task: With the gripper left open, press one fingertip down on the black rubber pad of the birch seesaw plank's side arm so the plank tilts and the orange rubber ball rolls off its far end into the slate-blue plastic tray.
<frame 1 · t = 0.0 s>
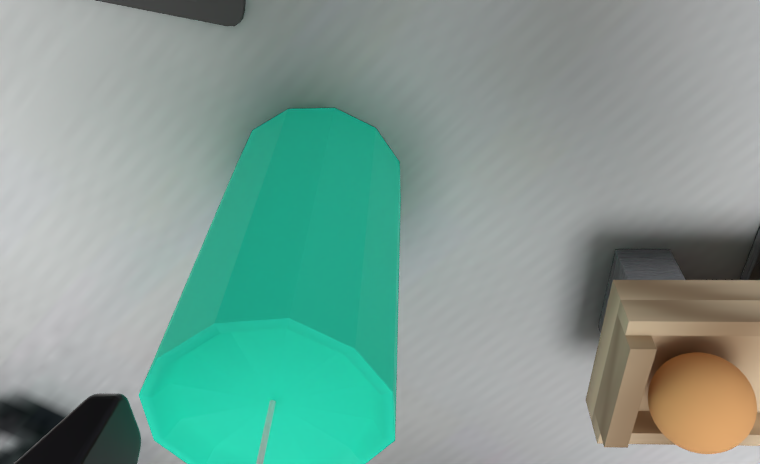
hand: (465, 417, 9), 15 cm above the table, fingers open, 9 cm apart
candle: (320, 179, 24), on the table
ball: (700, 402, 22), point 6 cm above the table, touching lever
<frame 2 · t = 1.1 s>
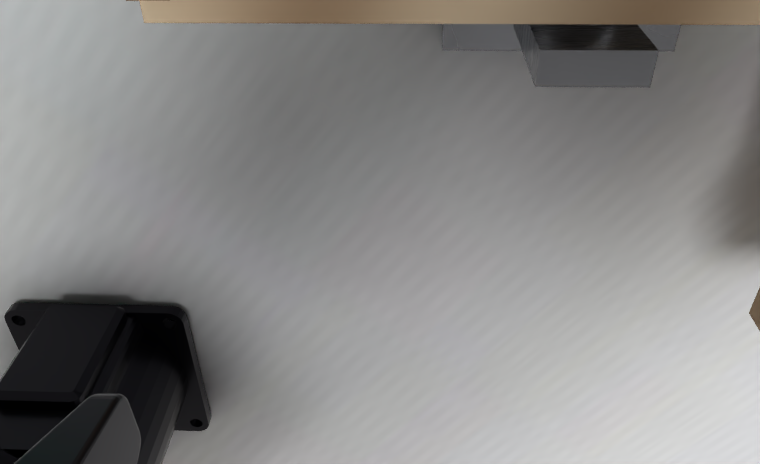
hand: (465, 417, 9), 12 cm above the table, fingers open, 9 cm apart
lever: (606, 84, 14), point 4 cm above the table, hinge at 0.0°, touching ball
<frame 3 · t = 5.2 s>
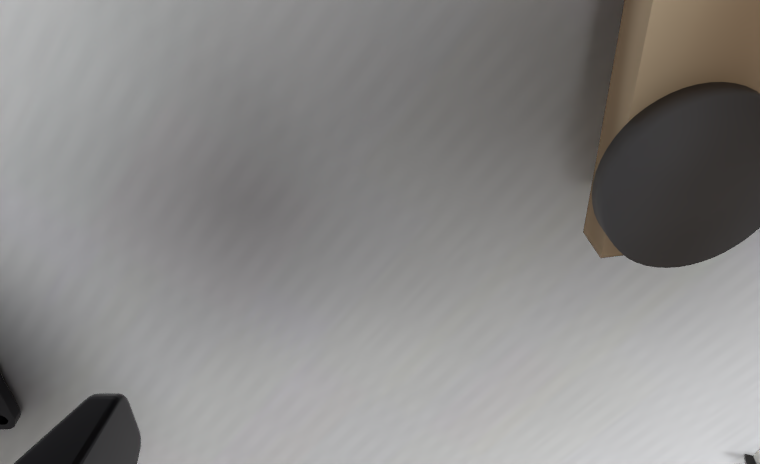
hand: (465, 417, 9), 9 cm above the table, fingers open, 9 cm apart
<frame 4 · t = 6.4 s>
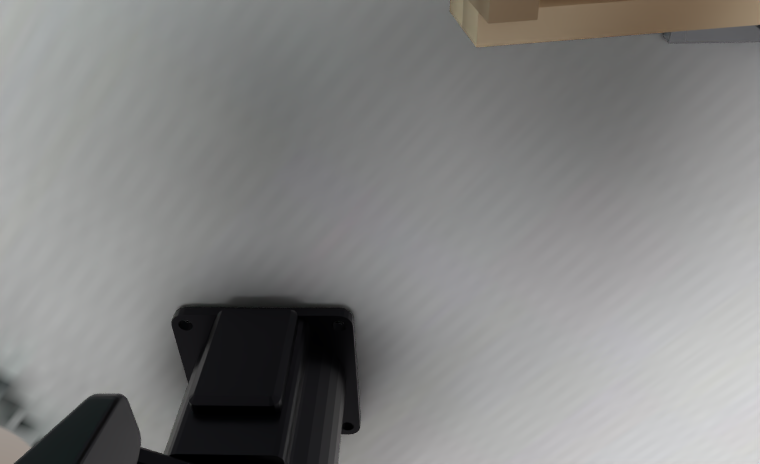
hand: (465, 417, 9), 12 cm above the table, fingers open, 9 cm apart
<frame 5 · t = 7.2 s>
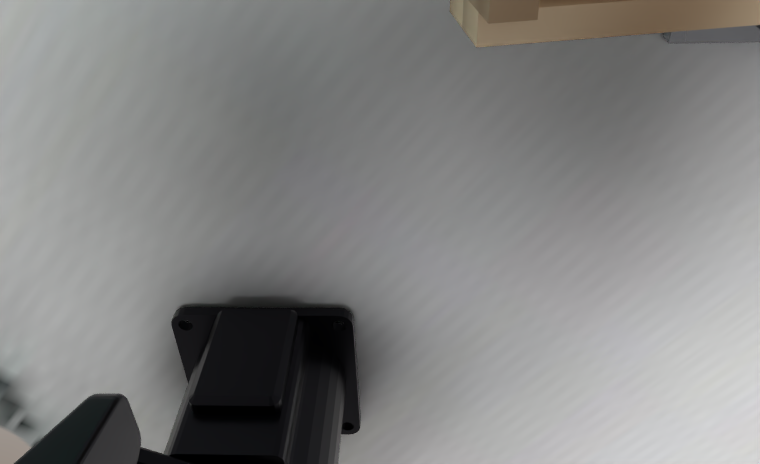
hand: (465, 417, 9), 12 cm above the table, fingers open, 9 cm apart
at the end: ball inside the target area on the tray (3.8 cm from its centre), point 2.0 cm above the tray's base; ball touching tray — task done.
